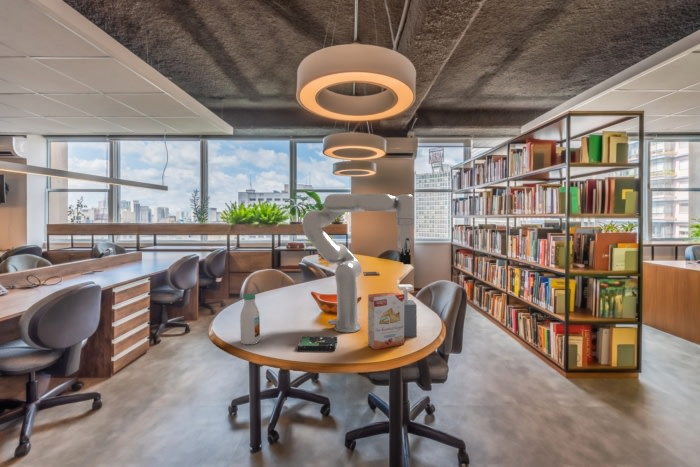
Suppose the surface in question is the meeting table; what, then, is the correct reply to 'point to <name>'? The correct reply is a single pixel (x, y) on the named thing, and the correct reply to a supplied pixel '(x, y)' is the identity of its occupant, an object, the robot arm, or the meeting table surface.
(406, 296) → the pump head
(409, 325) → the block
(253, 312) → the milk bottle
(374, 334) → the cracker box
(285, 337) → the meeting table surface
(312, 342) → the disk drive
